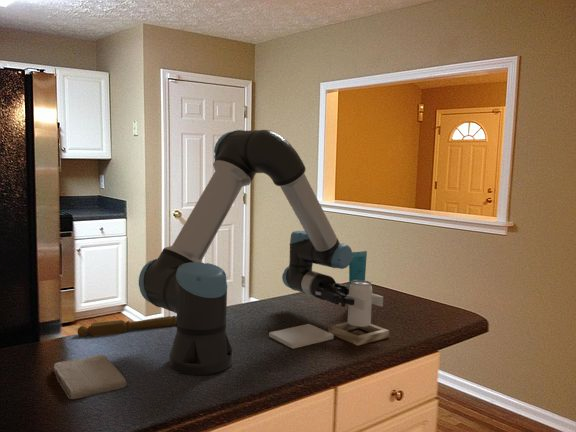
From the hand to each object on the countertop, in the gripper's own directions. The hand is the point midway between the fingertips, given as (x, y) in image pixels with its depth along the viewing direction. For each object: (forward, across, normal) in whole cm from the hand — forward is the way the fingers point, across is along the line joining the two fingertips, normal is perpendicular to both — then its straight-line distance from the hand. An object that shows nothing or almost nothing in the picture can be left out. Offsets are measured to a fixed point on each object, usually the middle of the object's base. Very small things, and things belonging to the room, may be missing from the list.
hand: (373, 303), depth 142 cm
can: (-5, 0, -7) cm, 9 cm away
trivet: (-12, +15, -11) cm, 22 cm away
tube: (-25, -18, -10) cm, 33 cm away
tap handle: (-43, +51, -12) cm, 68 cm away
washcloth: (-16, +71, -12) cm, 74 cm away
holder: (-5, 0, -10) cm, 12 cm away
